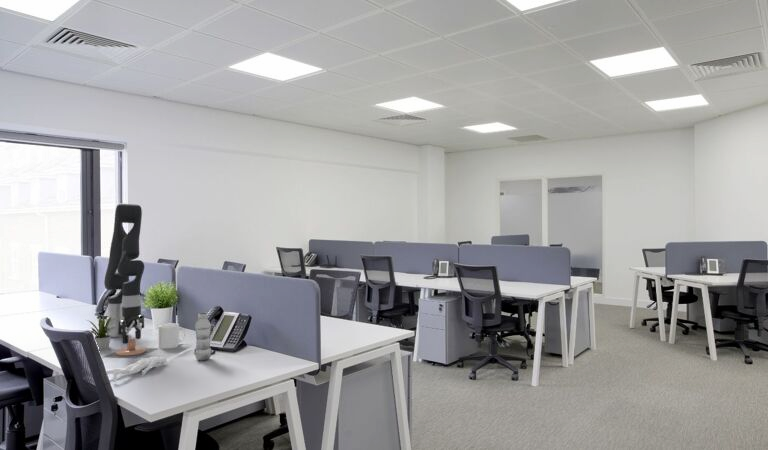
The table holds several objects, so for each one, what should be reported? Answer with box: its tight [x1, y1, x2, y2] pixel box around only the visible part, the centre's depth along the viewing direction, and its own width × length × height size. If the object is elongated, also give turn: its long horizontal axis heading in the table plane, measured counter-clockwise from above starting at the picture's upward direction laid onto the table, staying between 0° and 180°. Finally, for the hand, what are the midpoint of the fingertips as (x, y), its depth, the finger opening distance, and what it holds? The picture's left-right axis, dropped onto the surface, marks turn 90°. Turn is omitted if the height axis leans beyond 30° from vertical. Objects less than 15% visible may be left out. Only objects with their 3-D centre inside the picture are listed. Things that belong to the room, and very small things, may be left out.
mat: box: [103, 347, 159, 360], centre depth 213 cm, size 16×16×1 cm
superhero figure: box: [106, 356, 168, 382], centre depth 188 cm, size 12×6×25 cm
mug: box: [158, 322, 186, 350], centre depth 226 cm, size 9×12×11 cm
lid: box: [115, 337, 147, 356], centre depth 213 cm, size 12×12×6 cm
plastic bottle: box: [194, 312, 212, 361], centre depth 205 cm, size 6×7×20 cm
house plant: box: [86, 315, 118, 351], centre depth 221 cm, size 14×14×16 cm
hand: (131, 341), depth 213 cm, fingers open, 8 cm apart
